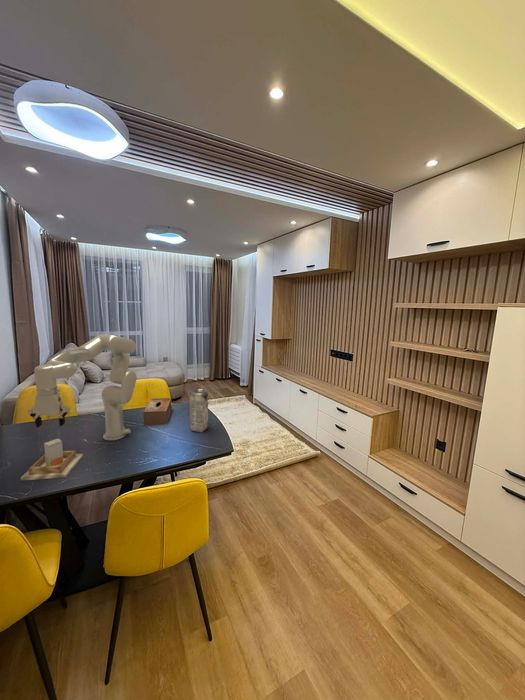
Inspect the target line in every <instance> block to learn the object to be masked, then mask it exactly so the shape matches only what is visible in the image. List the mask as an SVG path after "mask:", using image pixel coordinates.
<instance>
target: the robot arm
mask: <svg viewBox="0 0 525 700" xmlns="http://www.w3.org/2000/svg"><path fill="white" fill-rule="evenodd" d="M136 349H137V345H136V342H135V340H133V339H130V338H127V337H122V336H118V335H114V334H105V333H102V334H98V335H96V336H95V337H93V338H92V339H90V340H89V341H87V342H86V343H84V344H82V345H81V346H78V347H76V348H73V349H70V350H68V351H65V352H63V353H62V352H61V353H60V354H58V355H56V356H54V357H53V358H52V359H50V360H49V361H47V363H46V364H40V365H38V366H36V367H34V380H35V388H36V394H35V398H34V406H33V407H31V408H29V409H28V410H27V413H28V414H29V416H30V417H32V418H33V420H34V421H35V423H34V424H35V425H36V426H35V427H36V428H40V427H41V426H42V425H43V421H42V417H41V416H57V417H59V418H58V423H59V425H58V426H59V427H62V426H64V425H65V423H66V416H67V415H68V414H69V411H70V410H71V408H70V407H69V406H66V405H64V404H63V398H62V396H61V393H60V391H61V388H58V384H57V380H59V379H68V378H70V377H72V376H74V375H75V373H76V371H77V370H76V366H75V365H74V364H77V363H81V362H88V361H91V360H93V359H94V358H96V357H97V356H98V355H101V353H102V352H104V351H106V350H107V351H111V353H112V355H113V362H112V364H111V365H112V366H111V370H110V372H109V373H110V374H109V381H110V382H111V383H113V384H117V385H106V386H105V387H104V388H103V389H102V392H101V398H102V402H103V407H104V419H105V420H104V422H105V423H104V424H105V432H104V433H103V435H102V438H103V440H106V441H116V440H120V439H122V438H124V437H126V436H127V434H131V433H132V430H131V429H130V428H126V427H125V426H124V414H123V413H124V412H123V411H124V410H123V409H124V408H123V405H126V404H128V403H129V402H130V401H131V400H132V397H133V395H134V391H135V387H136V384H137V379H138V377H137V373H136V371H134V370H133V369H130V368H129V364H130V357H129V354H133V353H134V352H135V351H136ZM128 368H129V369H128ZM118 385H120V386H118Z"/></svg>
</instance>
